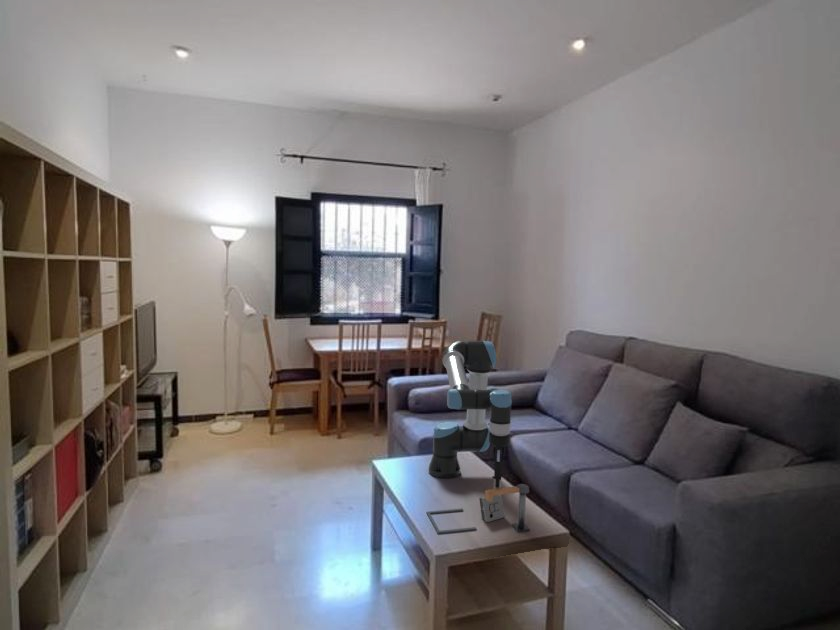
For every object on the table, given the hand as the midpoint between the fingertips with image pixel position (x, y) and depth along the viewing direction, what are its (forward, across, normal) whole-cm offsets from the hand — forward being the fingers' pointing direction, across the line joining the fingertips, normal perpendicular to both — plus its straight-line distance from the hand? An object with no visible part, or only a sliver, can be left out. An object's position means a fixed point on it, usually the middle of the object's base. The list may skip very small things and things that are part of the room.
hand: (497, 494), depth 185 cm
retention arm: (0, 0, +4) cm, 4 cm away
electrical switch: (+14, -8, -2) cm, 16 cm away
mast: (+13, -2, +9) cm, 16 cm away
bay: (+13, -2, -17) cm, 21 cm away
